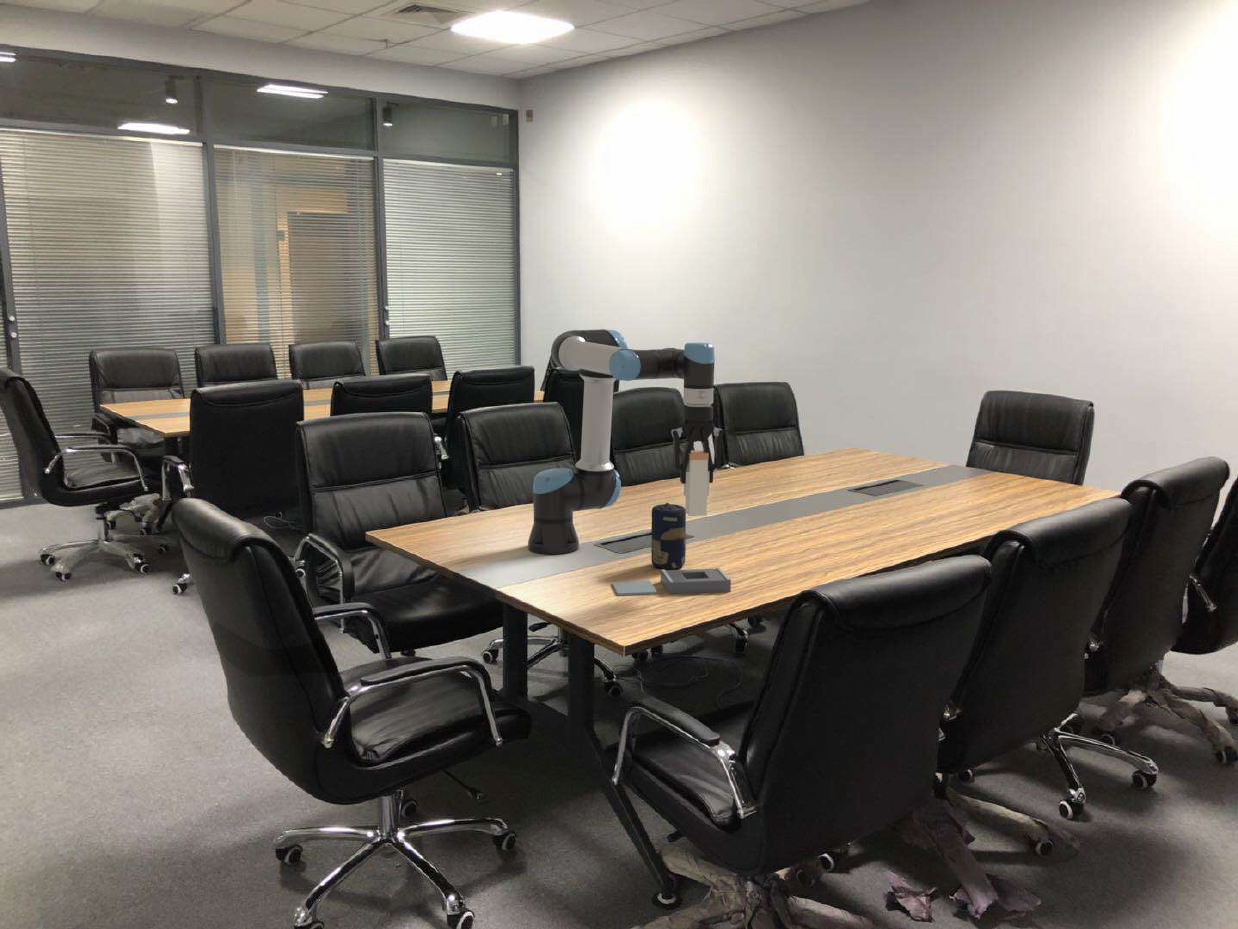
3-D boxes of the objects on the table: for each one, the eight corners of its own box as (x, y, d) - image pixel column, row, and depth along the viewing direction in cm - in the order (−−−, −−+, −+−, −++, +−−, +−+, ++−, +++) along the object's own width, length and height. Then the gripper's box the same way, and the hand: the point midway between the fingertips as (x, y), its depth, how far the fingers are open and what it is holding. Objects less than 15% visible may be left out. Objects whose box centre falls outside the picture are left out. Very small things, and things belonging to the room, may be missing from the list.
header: (669, 594, 245) (669, 581, 244) (660, 581, 255) (660, 569, 255) (730, 591, 247) (730, 579, 247) (719, 579, 258) (720, 567, 257)
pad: (617, 595, 243) (617, 593, 243) (612, 584, 253) (612, 582, 253) (657, 594, 245) (657, 591, 245) (649, 582, 255) (649, 580, 254)
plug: (688, 516, 246) (690, 453, 243) (684, 511, 250) (685, 450, 247) (707, 515, 246) (708, 453, 243) (702, 511, 251) (704, 450, 248)
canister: (683, 561, 275) (684, 499, 272) (687, 570, 266) (688, 506, 263) (650, 561, 275) (650, 499, 272) (652, 571, 266) (652, 506, 262)
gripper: (666, 406, 238) (665, 499, 242) (736, 406, 241) (733, 498, 245) (661, 403, 246) (659, 493, 250) (728, 402, 248) (725, 492, 252)
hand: (696, 495), depth 247 cm, fingers closed on plug, 4 cm apart
